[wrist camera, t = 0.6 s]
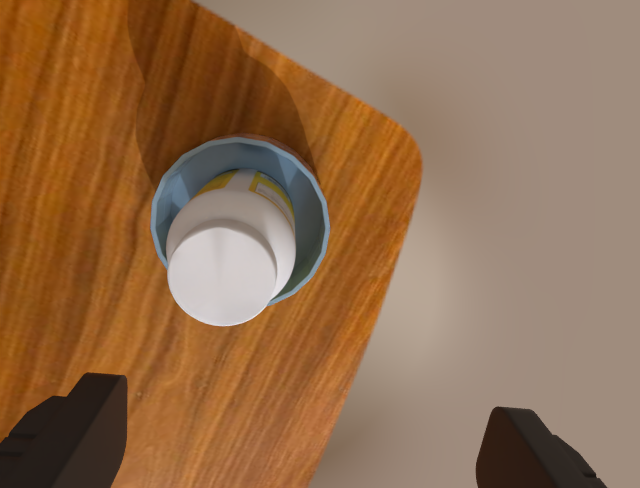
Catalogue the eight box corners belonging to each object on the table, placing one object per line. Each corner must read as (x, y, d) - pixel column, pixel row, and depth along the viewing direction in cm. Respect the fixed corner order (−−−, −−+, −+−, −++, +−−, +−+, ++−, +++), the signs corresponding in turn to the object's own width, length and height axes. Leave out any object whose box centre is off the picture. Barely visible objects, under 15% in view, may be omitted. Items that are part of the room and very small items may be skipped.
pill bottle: (183, 235, 31) (121, 311, 20) (221, 148, 29) (176, 178, 18) (270, 273, 32) (258, 365, 21) (311, 192, 30) (321, 245, 19)
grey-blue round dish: (145, 245, 31) (124, 265, 27) (207, 103, 28) (193, 103, 25) (282, 306, 33) (281, 333, 29) (352, 179, 30) (360, 190, 27)
